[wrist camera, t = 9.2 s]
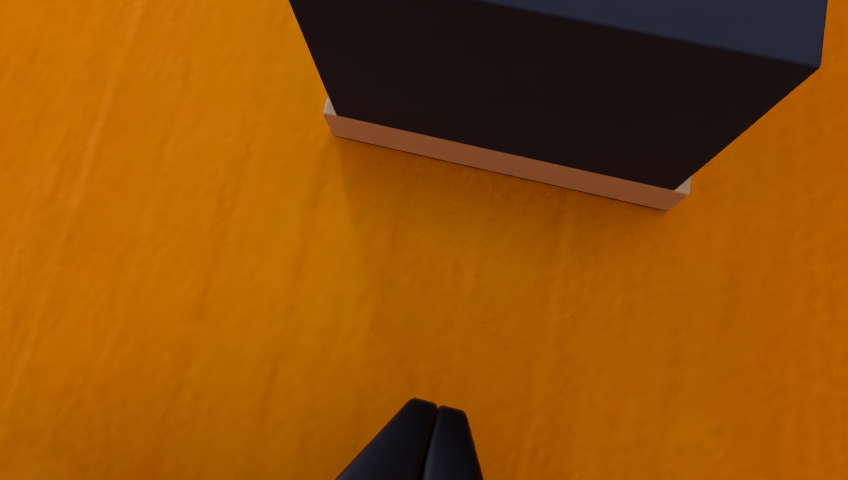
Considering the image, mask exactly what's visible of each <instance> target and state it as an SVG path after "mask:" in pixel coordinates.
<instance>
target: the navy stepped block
mask: <svg viewBox="0 0 848 480" xmlns="http://www.w3.org/2000/svg"><path fill="white" fill-rule="evenodd" d="M827 1H828V0H289V2H290V4H291V7H292V9H293V12H294V14H295V17H296V19H297V21H298V24H299V26H300V29H301V31H302V33H303V36H304V38H305V41H306V43H307V45H308V48H309V50H310V53H311V55H312V58H313V60H314V62H315V65H316V67H317V70H318V72H319V74H320V77H321V79H322V82H323V84H324V87H325V89H326V91H327V94H328V99H327V102H326V105H325V108H324V111H323V114H324V116H325V118H326V120H327V122H328V125H329V127H330V129H331V131H332V133H333V135H335V136H339V137H344V138H348V139H353V140H357V141H361V142H366V143H370V144H375V145H379V146H383V147H388V148H392V149H397V150H401V151H406V152H410V153H414V154H419V155H423V156H428V157H432V158H437V159H441V160H445V161H450V162H454V163H459V164H463V165H467V166H472V167H476V168H481V169H485V170H490V171H494V172H498V173H503V174H507V175H512V176H516V177H520V178H525V179H529V180H534V181H538V182H543V183H547V184H551V185H556V186H560V187H565V188H569V189H574V190H578V191H582V192H587V193H591V194H596V195H600V196H604V197H609V198H613V199H618V200H622V201H627V202H631V203H635V204H640V205H644V206H649V207H653V208H658V209H662V210H666V211H668V210H670V209H671V208H672V207H674V206H675V205H676V204H677V203H679V202H680V201H681V200H683V199H684V198H685V197H686V196H688V195H689V193H690V187H691V181H692V175H693V174H694V173H696V172H697V171H698V170H699V169H700V168H702V167H703V166H704V165H705V164H706V163H707V162H709V161H710V160H711V159H712V158H713V157H715V156H716V155H717V154H718V153H719V152H720V151H722V150H723V149H724V148H725V147H726V146H728V145H729V144H730V143H731V142H732V141H734V140H735V139H736V138H737V137H738V136H739V135H741V134H742V133H743V132H744V131H745V130H747V129H748V128H749V127H750V126H751V125H752V124H754V123H755V122H756V121H757V120H758V119H760V118H761V117H762V116H763V115H764V114H765V113H767V112H768V111H769V110H770V109H771V108H773V107H774V106H775V105H776V104H777V103H778V102H780V101H781V100H782V99H783V98H784V97H786V96H787V95H788V94H789V93H790V92H791V91H793V90H794V89H795V88H796V87H797V86H799V85H800V84H801V83H802V82H803V81H804V80H806V79H807V78H808V77H809V76H810V75H812V74H813V73H814V72H815V71H816V70H818V69H819V67H820V65H821V57H822V47H823V38H824V29H825V19H826V10H827Z"/></svg>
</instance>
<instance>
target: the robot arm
mask: <svg viewBox="0 0 848 480" xmlns="http://www.w3.org/2000/svg"><path fill="white" fill-rule="evenodd" d="M436 413H437V414H436ZM435 417H436V418H435ZM434 421H435V422H434ZM433 425H434V426H433ZM335 480H483V476H482V472H481V468H480V465H479V461H478V457H477V453H476V449H475V445H474V442H473V438H472V434H471V430H470V426H469V422H468V419H467V416H466V414H465V412H464V411H462V410H459V409H455V408H451V407H448V406H443V405H442V406H440V407H439V408H438V410H437V405H436V404H435V403H433V402H429V401H425V400H422V399H418V398H412V399H410V400H409V401H408V402H407V403H406V404H405V405H404V406H403V407H402V408H401V409H400V410H399V411H398V413H397V414H396V415H395V416H394V417H393V418H392V419H391V420H390V421H389V422H388V423H387V424H386V425H385V426H384V428H383V429H382V430H381V431H380V432H379V433H378V434H377V435H376V436H375V437H374V438H373V439H372V440H371V441H370V442H369V444H368V445H367V446H366V447H365V448H364V449H363V450H362V451H361V452H360V453H359V454H358V455H357V456H356V457H355V459H354V460H353V461H352V462H351V463H350V464H349V465H348V466H347V467H346V468H345V469H344V470H343V471H342V472H341V474H340V475H339V476H338V477H337V478H336V479H335Z"/></svg>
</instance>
